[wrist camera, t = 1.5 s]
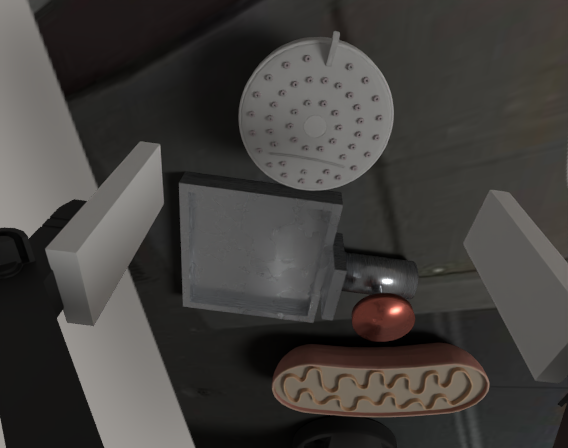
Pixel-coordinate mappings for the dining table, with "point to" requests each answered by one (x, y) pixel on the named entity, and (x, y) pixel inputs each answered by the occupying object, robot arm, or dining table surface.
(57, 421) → the robot arm
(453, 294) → the dining table surface
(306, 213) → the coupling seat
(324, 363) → the anatomical model
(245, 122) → the showerhead
